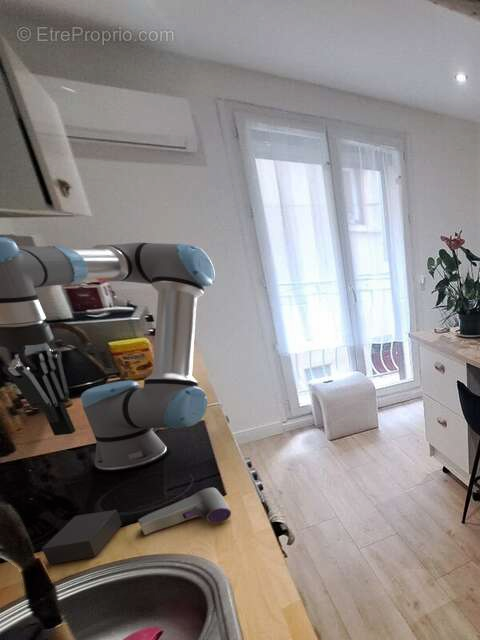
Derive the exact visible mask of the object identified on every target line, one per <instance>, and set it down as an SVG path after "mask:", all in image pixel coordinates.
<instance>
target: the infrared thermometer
mask: <svg viewBox="0 0 480 640" xmlns="http://www.w3.org/2000/svg"><path fill="white" fill-rule="evenodd" d="M231 516H232V510H231V508H230V507H229V505H228V503H227V502H226V500H225V498H224V496H223V495H222V494H221V492H220V491H219V490H218V489H217V488H215V487H206V488H203V489H201V490H198V491H197V492H195V493H194V494H192V495H191V496H189V497H186V498H184V499H181V500H179V501H177V502H175V503H173V504H170V505H168V506H165V507H162V508H160V509H158V510H156V511H153V512H151V513H147V515H144V516H142V517H140V518H138V519H137V522H138V524H139V526H140V528H141V530H142V532H143V534H144V536H147V535H148V534H151V533H153V532H156V531H160V530H161V529H166V528H168V527H172V526H175V525H178V524H180V523H183V522H185V521H189V520H191V519H196V518H198V517H200V518H203V519H204V520H205V521H207V522H209V523H214V524H217V523H222V522H225V521H227V520H228V519H229V518H230V517H231Z"/></svg>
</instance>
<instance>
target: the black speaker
mask: <svg viewBox="0 0 480 640" xmlns="http://www.w3.org/2000/svg"><path fill="white" fill-rule="evenodd" d="M121 526H123V523H122V520H121V518H120V514H119V513H118V510H117V509H112V510H106V511H98V512H91V513H85V514H78V515H75V516H73V517H72V519H71V520H69V521H68V522H67V523H66V524H65V525H64V526H63V527H62V528H61V529H60V530H59V531H58V532H57V533H56V534H55V535H54V536H53V537H52V538H50V540H49V541H48V542H46V544H45V545H43V547H41V550H42V552H43V555H44V557H45V559H46V561H47V563H48V565H49V566H50V565H56V564H60V563H61V564H62V563H66V562H72V561H77V560H84V559H90V558H94V557H97V555H99V553H100V552H101V551H102V549H103V548H104V547H105V546H106V545H107V543H108V542H109V541H110V540H111V539H112V537H113V536H114V535H115V534H116V532H117V531H118V530H119V529H120V528H121Z"/></svg>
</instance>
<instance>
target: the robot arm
mask: <svg viewBox="0 0 480 640" xmlns="http://www.w3.org/2000/svg"><path fill="white" fill-rule="evenodd" d="M212 262H213V261H212V260H211V259H210V257H209V255H208V254H207V253H206V252H205V251H204V250H203V249H202V248H201V247H200V246H197V245H194V244H185V243H180V242H179V243H161V242H160V243H157V242H129V243H127V242H126V243H117V244H96V245H94V246H92V247H64V246H54V245H52V246H51V245H48V246H25V245H17V243H16V241H15V240H13V239H12V238H10V237H4V236H3V237H2V236H1V237H0V347H1V348H5V349H6V350H7V352H8V359H9V360H10V361H11V362H10V365H8V366H6V365H5V366H3V367H2V372H3V373H4V374H6V375H7V376H8V377H9V378H10V379H11V380H12V382H13V383H14V385H15V386H16V388H17V389H18V390H19V392H20V394H21V395H22V396H23V397H24V399H25V400H26V402H27V403H28V405H29V406H30V408H32V409H42V411H43V413H44V415H45V418H46V420H47V422H48V424H49V427H50V429H51V430H52V431H51V432H52V434H53V435H54V436H63V435H73V434H74V433H75V432H76V428H75V426H74V424H73V423H74V422H73V421H72V419H71V417H70V414H69V412H68V409H67V406H66V405H65V403H69V402H70V401H71V398H70V397H69V395H70V392H69V388H68V384H67V379H66V375H65V372H64V367H63V363H62V352H61V350H57V349H56V350H54V349H53V350H52V349H51V347H50V345H49V344H48V343H51V342H52V341H54V339H55V337H54V334H53V332H52V330H51V326H50V325H49V323H48V322H46V321H44V320H46V319H47V316H46V315H45V312H44V309H43V307H42V305H41V303H40V300H39V296H38V295H37V292H36V289H38V288H45V287H54V286H65V285H66V286H70V285H72V284H76V283H81V282H82V281H84V280H91V279H92V280H94V279H95V280H96V279H102V280H104V281H107V282H125V283H135V284H144V285H145V284H147V285H151V287H152V288H154V290H156V292H157V293H158V294H157V305H156V320H155V331H154V343H153V344H154V345H153V356H152V357H153V358H152V370H151V374H150V375H148V376H147V377H145V378H144V379H143V387H141V386H139V385H140V384H139V383H138V382H137V381H136V380H133V379H132V380H131V379H129V380H120V381H114V382H109V383H104V384H101V385H97V386H93V387H91V388H88V389H86V390H85V391H83V392H82V393H81V395H80V400H81V404H82V409H83V412H84V413H85V416H86V418H87V421H88V423H89V426H90V428H91V431H92V433H93V436H94V438H95V441H96V446H95V453H94V454H95V455H94V465H95V468H96V471H98V472H100V473H101V472H102V473H120V472H122V473H123V472H128V471H133V470H137V469H140V468H144V467H147V466H150V465H153V464H154V463H156V462H159V461H160V460H162V459H163V458H165V457H166V455H167V454H168V449H167V446H166V445H165V443H164V442H163V440H161V439H160V437H159V436H158V435H157V434H156V432H157V431H158V430H159V429H180V428H190V427H192V426H196V425H197V424H198V423H199V422H200V421H201V420H202V419H203V417H204V416H205V415H206V414H205V413H206V411H207V408H208V397H207V394H206V392H205V390H204V389H202V388H201V387H199V382H198V380H196V379H195V378H194V377H193V367H194V365H193V364H194V351H195V350H194V349H195V335H196V320H197V303H198V299H199V298H201V297H203V296H204V294H205V287H209V286H212V285H213V284H214V282H215V279H216V273H215V268H214V264H213V263H212Z"/></svg>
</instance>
